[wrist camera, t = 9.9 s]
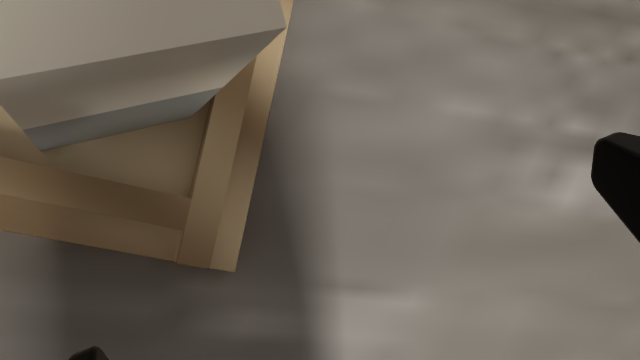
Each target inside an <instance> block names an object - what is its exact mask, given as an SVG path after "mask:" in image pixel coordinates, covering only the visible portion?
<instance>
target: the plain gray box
mask: <svg viewBox="0 0 640 360" xmlns="http://www.w3.org/2000/svg"><path fill="white" fill-rule="evenodd" d="M286 28H287V26H286V22H285V18H284V14H283V11H282V7H281V3H280V0H0V105H1V106H2V107H3V109H4V110H5V111H6V112H7V113H8V114H9V115H10V117H11V118H12V119H13V120H14V121H15V122H16V123H17V125H18V126H19V127H20V128H21V129H22V130H23V132H24V133H25V134H26V135H27V136H28V137H29V138H30V140H31V141H32V142H33V143H34V144H35V145H36V146H37V148H38V149H39V150H40V151H41V152H42V151H46V150H50V149H55V148H59V147H64V146H68V145H72V144H77V143H81V142H86V141H90V140H94V139H99V138H103V137H108V136H112V135H116V134H121V133H125V132H130V131H134V130H138V129H143V128H147V127H152V126H156V125H160V124H165V123H169V122H174V121H178V120H182V119H187V118H191V117H192V116H193V115H194V114H195V113H196V112H197V111H198V110H199V109H200V108H201V107H202V106H204V105H205V104H206V103H207V102H208V101H209V100H210V99H211V98H212V97H213V96H214V95H215V94H216V93H217V92H218V91H220V90H221V89H222V88H223V87H224V86H225V85H226V84H227V83H228V82H229V81H230V80H231V79H232V78H233V77H234V76H236V75H237V74H238V73H239V72H240V71H241V70H242V69H243V68H244V67H245V66H246V65H247V64H248V63H249V62H250V61H251V60H253V59H254V58H255V57H256V56H257V55H258V54H259V53H260V52H261V51H262V50H263V49H264V48H265V47H266V46H267V45H269V44H270V43H271V42H272V41H273V40H274V39H275V38H276V37H277V36H278V35H279V34H280V33H281V32H282V31H283V30H285V29H286Z"/></svg>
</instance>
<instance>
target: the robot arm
mask: <svg viewBox="0 0 640 360" xmlns="http://www.w3.org/2000/svg"><path fill="white" fill-rule="evenodd" d="M591 179H592V182H593V185H594V187H595V188H596V190H597V191H598V192H599V193H600V195H601V196H602V197H603V198H604V200H605V201H606V202H607V203H608V204H609V206H610V207H611V208H612V209H613V211H614V212H615V213H616V214H617V216H618V217H619V218H620V219H621V220H622V222H623V223H624V224H625V225H626V227H627V228H628V229H629V230H630V232H631V233H632V234H633V235H634V236H635V238H636V239H637V240H638V241H639V242H640V136H636V135H631V134H627V133H622V132H617V133H613V134H611V135H609V136H606V137H604V138H601V139H599V140H598V141H597V142H596V144H595V146H594V153H593V162H592V170H591ZM68 360H109V359H108V358H107V357H106V355H105V354H104V352H103V351H102V350H101V349H100V348H99V347H97V346H93V347H90V348H88V349H85V350H83V351H81V352H78V353H76V354H74V355H72V356H71V357H70V358H69V359H68Z"/></svg>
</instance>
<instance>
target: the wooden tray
mask: <svg viewBox="0 0 640 360" xmlns="http://www.w3.org/2000/svg"><path fill="white" fill-rule="evenodd" d="M293 1H294V0H280V3H281V7H282V11H283V14H284V18H285V22H286V26H287V28H286V29H285V30H283V31H282V32H281V33H280V34H279V35H278V36H277V37H276V38H275V39H274V40H273V41H272V42H271V43H270V44H269V45H267V46H266V47H265V48H264V49H263V50H262V51H261V52H260V53H259V54H258V55H257V56H256V57H255V58H254V59H253V60H251V61H250V62H249V63H248V64H247V65H246V66H245V67H244V68H243V69H242V70H241V71H240V72H239V73H238V74H237V75H236V76H234V77H233V78H232V79H231V80H230V81H229V82H228V83H227V84H226V85H225V86H224V87H223V88H222V89H221V90H220V91H218V92H217V93H216V94H215V95H214V96H213V97H212V98H211V99H210V100H209V101H208V102H207V103H206V104H205V105H204V106H202V107H201V108H200V109H199V110H198V111H197V112H196V113H195V114H194V115H193V116H192V117H191V118H187V119H182V120H178V121H174V122H169V123H165V124H160V125H156V126H152V127H147V128H143V129H138V130H134V131H130V132H125V133H121V134H116V135H112V136H108V137H103V138H99V139H94V140H90V141H86V142H81V143H77V144H72V145H68V146H64V147H59V148H55V149H50V150H46V151H42V152H41V151H40V150H39V149H38V148H37V146H36V145H35V144H34V143H33V142H32V141H31V140H30V138H29V137H28V136H27V135H26V134H25V133H24V132H23V130H22V129H21V128H20V127H19V126H18V125H17V123H16V122H15V121H14V120H13V119H12V118H11V117H10V115H9V114H8V113H7V112H6V111H5V110H4V109H3V107H2V106H1V105H0V230H4V231H10V232H15V233H21V234H26V235H32V236H37V237H43V238H48V239H53V240H59V241H64V242H70V243H75V244H81V245H86V246H92V247H97V248H103V249H108V250H114V251H119V252H125V253H130V254H136V255H141V256H147V257H152V258H158V259H163V260H169V261H174V262H175V263H177V264H182V265H188V266H194V267H199V268H205V269H210V268H213V269H218V270H224V271H229V272H235V269H236V265H237V260H238V255H239V251H240V246H241V241H242V237H243V232H244V228H245V223H246V218H247V214H248V209H249V205H250V200H251V195H252V191H253V186H254V181H255V177H256V172H257V168H258V163H259V158H260V154H261V149H262V145H263V140H264V135H265V131H266V126H267V121H268V117H269V112H270V108H271V103H272V98H273V94H274V89H275V85H276V80H277V75H278V71H279V66H280V61H281V57H282V52H283V48H284V43H285V38H286V34H287V29H288V25H289V20H290V15H291V11H292V6H293Z"/></svg>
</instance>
